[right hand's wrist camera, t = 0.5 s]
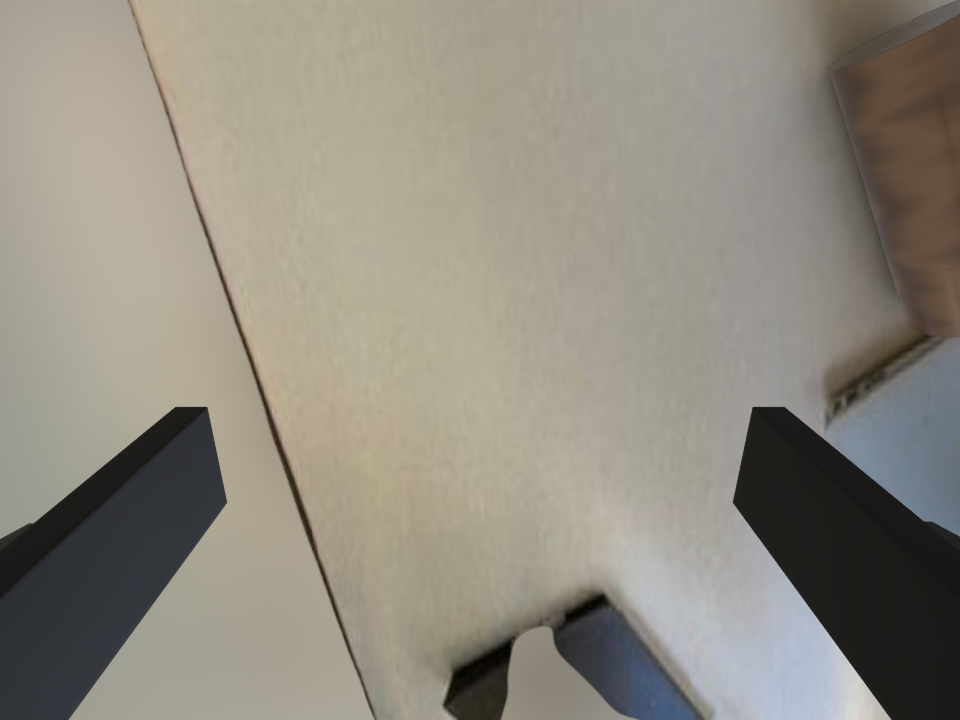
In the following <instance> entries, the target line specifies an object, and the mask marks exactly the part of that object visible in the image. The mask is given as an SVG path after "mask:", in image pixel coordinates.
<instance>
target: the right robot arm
mask: <svg viewBox="0 0 960 720" xmlns="http://www.w3.org/2000/svg"><path fill="white" fill-rule="evenodd" d="M226 504H227V500H226V495H225V490H224V485H223V480H222V476H221V471H220V466H219V461H218V456H217V451H216V447H215V442H214V437H213V432H212V427H211V423H210V418H209V413H208V408H207V407H175V408H174V409H172V410H171V411H170V412H169V413H168V414H166V415H165V416H164V417H163V418H161V419H160V420H159V421H158V422H157V423H155V424H154V425H153V426H152V427H150V428H149V429H148V430H147V431H146V432H144V433H143V434H142V435H141V436H140V437H138V438H137V439H136V440H135V441H133V442H132V443H131V444H130V445H129V446H127V447H126V448H125V449H124V450H122V451H121V452H120V453H119V454H118V455H117V456H115V457H114V458H113V459H112V460H110V461H109V462H108V463H107V464H105V465H104V466H103V467H102V468H101V469H99V470H98V471H97V472H96V473H95V474H93V475H92V476H91V477H90V478H88V479H87V480H86V481H85V482H84V483H82V484H81V485H80V486H79V487H77V488H76V489H75V490H74V491H73V492H71V493H70V494H69V495H68V496H67V497H65V498H64V499H63V500H62V501H60V502H59V503H58V504H57V505H56V506H54V507H53V508H52V509H51V510H50V511H48V512H47V513H46V514H45V515H43V516H42V517H41V518H40V519H39V520H37V521H36V522H35V523H33V524H32V523H31V524H27V525H25V526H24V527H22V528H20V529H18V530H16V531H14V532H13V533H11V534H9V535H7V536H5V537H3V538H1V539H0V720H69V718H70V717H71V715H72V714H73V713H74V711H75V710H76V709H77V707H78V706H79V705H80V703H81V702H82V701H83V699H84V698H85V696H86V695H87V694H88V692H89V691H90V690H91V688H92V687H93V685H94V684H95V683H96V681H97V680H98V679H99V677H100V676H101V674H102V673H103V672H104V670H105V669H106V668H107V666H108V665H109V664H110V662H111V661H112V659H113V658H114V657H115V655H116V654H117V653H118V651H119V650H120V648H121V647H122V646H123V644H124V643H125V642H126V640H127V639H128V638H129V636H130V635H131V633H132V632H133V631H134V629H135V628H136V627H137V625H138V624H139V623H140V621H141V620H142V618H143V617H144V616H145V614H146V613H147V612H148V610H149V609H150V608H151V606H152V605H153V603H154V602H155V601H156V599H157V598H158V597H159V595H160V594H161V592H162V591H163V590H164V588H165V587H166V586H167V584H168V583H169V582H170V580H171V579H172V577H173V576H174V575H175V573H176V572H177V571H178V569H179V568H180V566H181V565H182V564H183V562H184V561H185V560H186V558H187V557H188V556H189V554H190V553H191V551H192V550H193V549H194V547H195V546H196V544H197V543H198V542H199V540H200V539H201V538H202V536H203V535H204V534H205V532H206V531H207V530H208V528H209V527H210V525H211V524H212V523H213V521H214V520H215V519H216V517H217V516H218V514H219V513H220V512H221V510H222V509H223V508H224V506H225V505H226ZM733 504H734V505H735V506H736V508H737V509H738V510H739V512H740V513H741V514H742V516H743V517H744V519H745V520H746V521H747V523H748V524H749V525H750V527H751V528H752V530H753V531H754V532H755V534H756V535H757V536H758V538H759V539H760V540H761V542H762V543H763V545H764V546H765V547H766V549H767V550H768V551H769V553H770V554H771V556H772V557H773V558H774V560H775V561H776V562H777V564H778V565H779V566H780V568H781V569H782V571H783V572H784V573H785V575H786V576H787V577H788V579H789V580H790V582H791V583H792V584H793V586H794V587H795V588H796V590H797V591H798V592H799V594H800V595H801V597H802V598H803V599H804V601H805V602H806V603H807V605H808V606H809V608H810V609H811V610H812V612H813V613H814V614H815V616H816V617H817V618H818V620H819V621H820V623H821V624H822V625H823V627H824V628H825V629H826V631H827V632H828V633H829V635H830V636H831V638H832V639H833V640H834V642H835V643H836V644H837V646H838V647H839V649H840V650H841V651H842V653H843V654H844V655H845V657H846V658H847V659H848V661H849V662H850V664H851V665H852V666H853V668H854V669H855V670H856V672H857V673H858V675H859V676H860V677H861V679H862V680H863V681H864V683H865V684H866V685H867V687H868V688H869V690H870V691H871V692H872V694H873V695H874V696H875V698H876V699H877V701H878V702H879V703H880V705H881V706H882V707H883V709H884V710H885V711H886V713H887V714H888V716H889V717H890V718H891V720H960V537H959V536H957V535H955V534H954V533H952V532H950V531H948V530H946V529H944V528H942V527H941V526H939V525H937V524H935V523H933V522H924V521H923V520H921V519H920V518H919V517H918V516H917V515H915V514H914V513H913V512H912V511H911V510H909V509H908V508H907V507H906V506H904V505H903V504H902V503H901V502H900V501H898V500H897V499H896V498H895V497H893V496H892V495H891V494H890V493H889V492H887V491H886V490H885V489H884V488H883V487H881V486H880V485H879V484H878V483H876V482H875V481H874V480H873V479H872V478H870V477H869V476H868V475H867V474H865V473H864V472H863V471H862V470H861V469H859V468H858V467H857V466H856V465H855V464H853V463H852V462H851V461H850V460H848V459H847V458H846V457H845V456H844V455H842V454H841V453H840V452H839V451H838V450H836V449H835V448H834V447H833V446H831V445H830V444H829V443H828V442H827V441H825V440H824V439H823V438H822V437H820V436H819V435H818V434H817V433H816V432H814V431H813V430H812V429H811V428H810V427H808V426H807V425H806V424H805V423H803V422H802V421H801V420H800V419H799V418H797V417H796V416H795V415H794V414H792V413H791V412H790V411H789V410H788V409H786V408H785V407H753V408H752V413H751V418H750V423H749V427H748V432H747V437H746V442H745V447H744V451H743V456H742V461H741V466H740V471H739V475H738V480H737V485H736V490H735V495H734V500H733Z"/></svg>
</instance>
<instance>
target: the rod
mask: <svg viewBox="0 0 960 720" xmlns="http://www.w3.org/2000/svg"><path fill="white" fill-rule="evenodd" d="M829 73H830V76H831V79H832V83H833V86H834V89H835V92H836V96H837V99H838V102H839V106H840V109H841V112H842V115H843V119H844V122H845V125H846V128H847V132H848V135H849V138H850V141H851V145H852V148H853V151H854V155H855V158H856V161H857V164H858V168H859V171H860V174H861V177H862V181H863V184H864V187H865V190H866V194H867V197H868V200H869V204H870V207H871V210H872V213H873V217H874V220H875V223H876V226H877V230H878V233H879V236H880V239H881V243H882V246H883V249H884V253H885V256H886V259H887V262H888V266H889V269H890V272H891V275H892V279H893V282H894V285H895V289H896V292H897V295H898V298H899V302H900V305H901V308H902V311H903V315H904V318H905V321H906V323H907V325H908V326H909V327H910V328H911V329H913V330H915V331H917V332H919V333H922V334H926V335H930V336H938V337H960V0H956V1H953V2H951V3H948V4H946V5H943V6H941V7H939V8H936V9H934V10H932V11H929V12H927V13H925V14H923V15H920V16H918V17H916V18H914V19H912V20H910V21H908V22H906V23H903V24H901V25H899V26H897V27H895V28H893V29H891V30H889V31H887V32H885V33H884V34H882V35H880V36H878V37H876V38H874V39H872V40H870V41H869V42H867V43H865V44H863V45H861V46H860V47H858V48H856V49H855V50H853V51H851V52H850V53H848V54H846V55H845V56H843V57H842V58H840V59H839V60H838V61H836V62H835V63H834V64H833V65H832V66H831V67H830V68H829Z"/></svg>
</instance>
